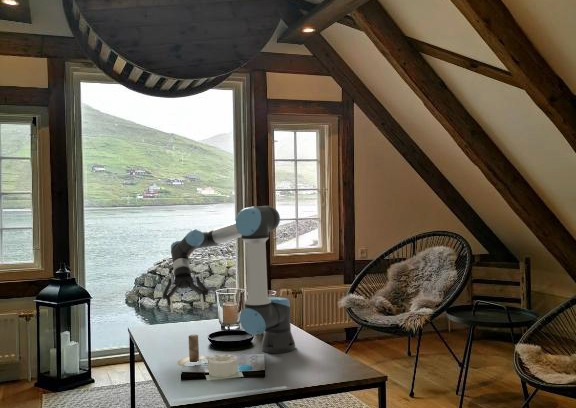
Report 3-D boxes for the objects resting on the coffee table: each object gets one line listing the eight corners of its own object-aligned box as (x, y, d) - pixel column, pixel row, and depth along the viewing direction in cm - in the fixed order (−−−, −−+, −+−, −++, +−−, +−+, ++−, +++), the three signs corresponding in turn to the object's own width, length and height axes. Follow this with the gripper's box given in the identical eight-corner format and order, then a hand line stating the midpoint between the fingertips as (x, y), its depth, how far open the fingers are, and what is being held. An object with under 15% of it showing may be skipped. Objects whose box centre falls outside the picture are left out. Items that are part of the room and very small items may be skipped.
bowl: (235, 366, 231) (234, 353, 231) (239, 375, 220) (238, 361, 220) (207, 369, 228) (207, 356, 228) (210, 378, 217) (209, 364, 217)
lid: (209, 356, 249) (208, 330, 248) (212, 366, 235) (211, 338, 235) (176, 359, 246) (175, 333, 245) (178, 369, 232) (177, 341, 232)
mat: (238, 366, 233) (238, 365, 233) (243, 377, 219) (243, 376, 219) (203, 370, 229) (203, 369, 229) (207, 382, 216) (206, 380, 216)
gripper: (208, 273, 270) (215, 311, 257) (154, 277, 263) (158, 316, 249) (209, 263, 265) (217, 302, 251) (154, 267, 257) (159, 307, 244)
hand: (187, 309), depth 250 cm, fingers open, 13 cm apart
